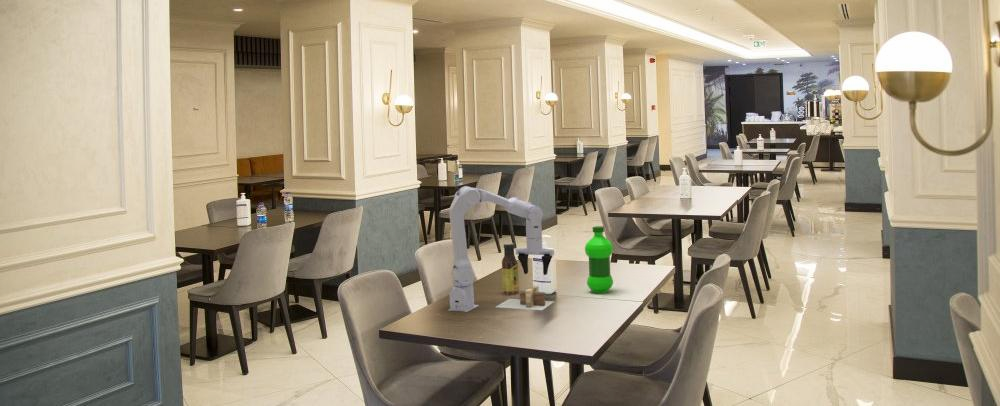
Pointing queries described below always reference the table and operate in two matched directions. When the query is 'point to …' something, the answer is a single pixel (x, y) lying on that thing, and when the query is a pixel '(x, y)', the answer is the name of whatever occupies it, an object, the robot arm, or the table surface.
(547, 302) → the base board
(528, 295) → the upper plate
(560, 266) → the table surface
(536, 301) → the brown rectangular block
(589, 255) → the plastic bottle
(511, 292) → the sauce bottle
